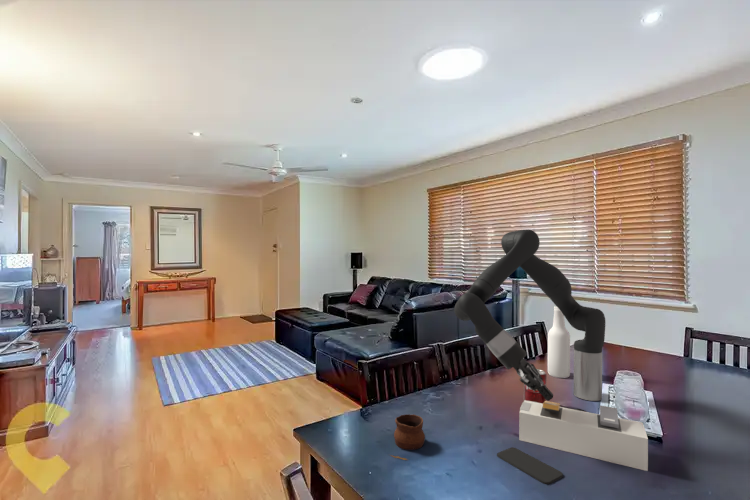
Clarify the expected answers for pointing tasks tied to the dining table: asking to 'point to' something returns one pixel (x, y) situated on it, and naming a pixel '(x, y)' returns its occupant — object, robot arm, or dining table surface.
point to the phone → (530, 465)
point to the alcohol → (558, 347)
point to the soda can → (535, 395)
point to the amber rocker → (551, 405)
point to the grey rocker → (609, 416)
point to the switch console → (584, 434)
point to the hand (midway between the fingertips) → (550, 398)
